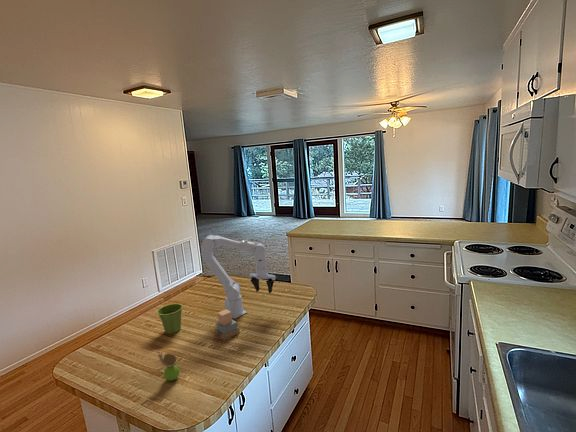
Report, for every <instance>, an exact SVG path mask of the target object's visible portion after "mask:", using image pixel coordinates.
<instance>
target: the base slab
mask: <svg viewBox="0 0 576 432" xmlns="http://www.w3.org/2000/svg"><path fill="white" fill-rule="evenodd" d="M214 331H215V335H216V336H218V337H219V338H221V339H223V340H224V341H227V340H228V339H230V338H232V337H234V336H236V335H238V334H240V333H241V331H240V327H239V326H237V329H235V330H233V331H231V332H228V333H226V334H223V333H221V332H220V331H219V330H217V328H216V329H214Z"/></svg>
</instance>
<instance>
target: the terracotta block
mask: <svg viewBox="0 0 576 432" xmlns="http://www.w3.org/2000/svg"><path fill="white" fill-rule="evenodd" d="M217 317H218V318H217V319H218V322H219V323H220V324H222V325H223V326H225V325H227V324H229V323H231V322H232V319H233V318H232V315H231V312H230V311H229V310H227V309H226V308H225V309H223V310H221V311H219V312H217Z"/></svg>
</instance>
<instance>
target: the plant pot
mask: <svg viewBox="0 0 576 432" xmlns="http://www.w3.org/2000/svg"><path fill="white" fill-rule="evenodd" d="M183 306H184V305H183V304H182V303H170V304H166V305H164V306H162V307H160V308H158V309H157V310H156V314H157V315H158V317H159V318H160V320H161V324H162V326H163V329H164V332H165V333H166V334H169V335H172V334H176V333H178V332H179V331H181V329H182V312H183V311H182V310H183Z"/></svg>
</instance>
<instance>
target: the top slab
mask: <svg viewBox="0 0 576 432" xmlns="http://www.w3.org/2000/svg"><path fill="white" fill-rule="evenodd" d="M215 325H216V329H217V330H219V331H220V332H221V333H223V334H226V333H228V332H231V331H233V330H235V329H237V327H238V322H237V321H235V320H234V318H232V322H231V323H229V324H227V325H225V326H223V325H222V324H220V323H219V321H218V322H215Z"/></svg>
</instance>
